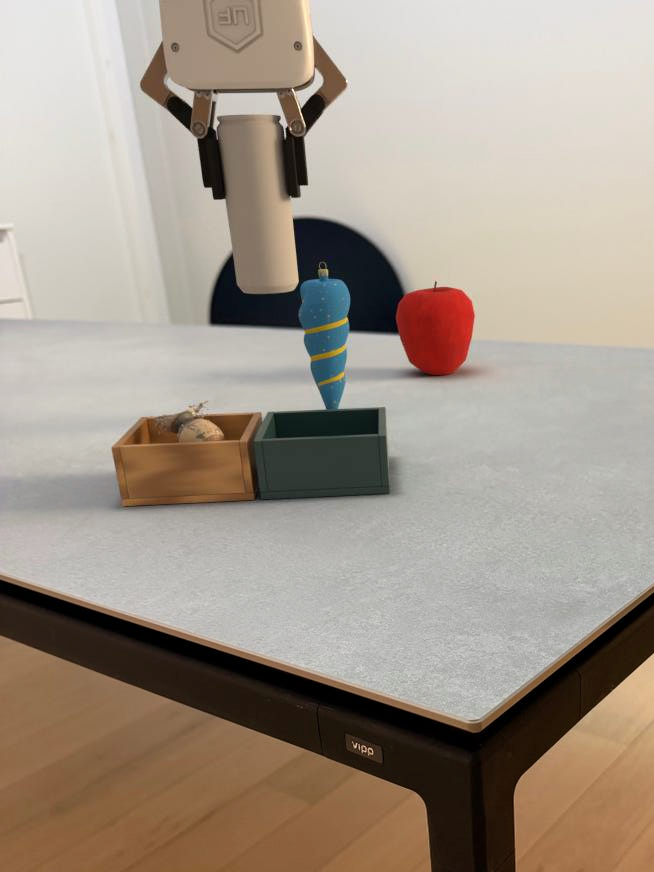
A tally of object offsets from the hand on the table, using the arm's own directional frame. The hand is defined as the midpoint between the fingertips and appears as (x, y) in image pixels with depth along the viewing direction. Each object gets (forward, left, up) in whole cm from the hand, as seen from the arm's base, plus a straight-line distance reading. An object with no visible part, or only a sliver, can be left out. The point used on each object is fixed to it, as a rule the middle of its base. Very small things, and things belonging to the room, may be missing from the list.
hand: (257, 195), depth 71 cm
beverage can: (0, 0, -7) cm, 7 cm away
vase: (-8, -1, -18) cm, 20 cm away
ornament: (+3, +20, -21) cm, 29 cm away
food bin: (-7, -3, -21) cm, 23 cm away
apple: (+15, +42, -21) cm, 49 cm away
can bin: (+4, -3, -21) cm, 22 cm away
